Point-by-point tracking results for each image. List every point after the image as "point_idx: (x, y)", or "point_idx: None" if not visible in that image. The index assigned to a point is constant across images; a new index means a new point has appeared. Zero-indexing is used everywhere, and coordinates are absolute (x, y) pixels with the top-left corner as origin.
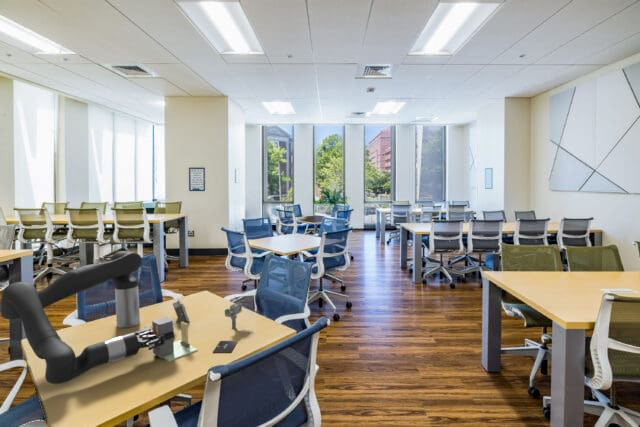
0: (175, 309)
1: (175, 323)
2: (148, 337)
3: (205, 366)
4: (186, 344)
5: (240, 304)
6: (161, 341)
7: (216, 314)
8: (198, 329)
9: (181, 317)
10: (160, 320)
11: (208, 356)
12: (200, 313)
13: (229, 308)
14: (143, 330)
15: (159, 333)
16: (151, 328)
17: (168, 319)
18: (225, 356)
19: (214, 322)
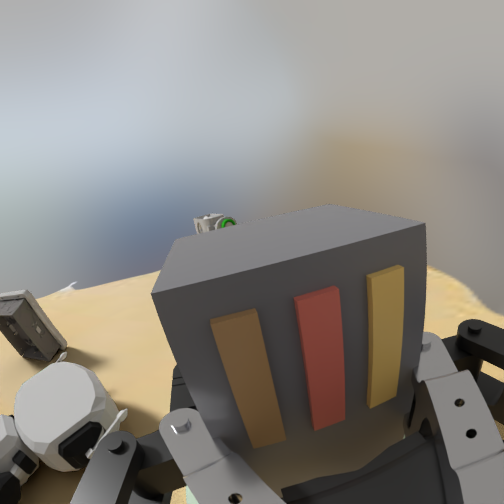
0: (15, 319)
1: (65, 356)
2: (496, 449)
3: (489, 317)
4: None
5: (212, 215)
6: (480, 367)
7: (103, 304)
8: (142, 340)
9: (43, 341)
10: (235, 242)
11: None
12: (60, 323)
13: (207, 226)
14: (78, 502)
15: (419, 345)
16: (7, 420)
17: (263, 220)
18: (426, 290)
19: (141, 311)
